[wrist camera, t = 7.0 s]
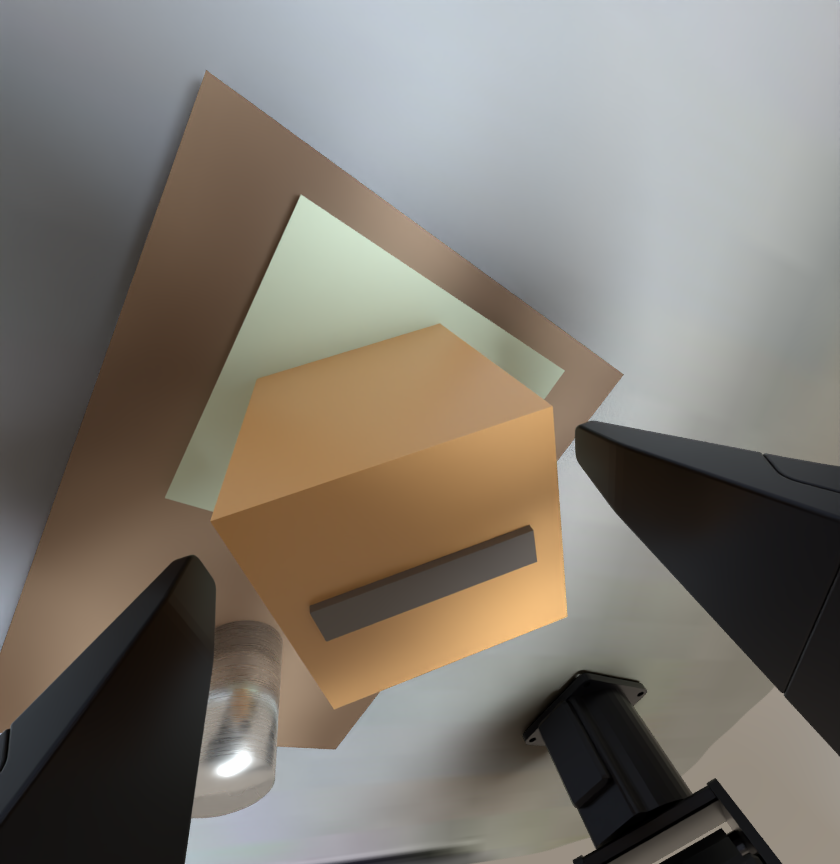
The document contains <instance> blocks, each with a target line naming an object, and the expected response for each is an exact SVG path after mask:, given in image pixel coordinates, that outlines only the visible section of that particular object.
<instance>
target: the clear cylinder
mask: <svg viewBox="0 0 840 864" xmlns="http://www.w3.org/2000/svg"><path fill="white" fill-rule="evenodd" d="M282 647H283V640H282V637H281V635H280V633H279V632H278V631H277V630H276V629H275V628H273V627H272V626H270V625H268V624H266V623H263V622H258V621H251V620H242V621H234V622H230V623H226V624H223V625H221V626H218V627H217V628H215V648H214V661H213V669H212V676H211V683H210V690H209V697H208V704H207V711H206V718H205V725H204V732H203V739H202V746H201V753H200V760H199V767H198V774H197V781H196V788H195V795H194V802H193V809H192V816H191V818H209V817H216V816H222V815H226V814H230V813H233V812H236V811H239V810H241V809H244V808H246V807H248V806H250V805H252V804H254V803H256V802H257V801H259V800H260V799H261V798H263V797H264V796H265V795H266V794H267V793H268V792H269V791H270V790H271V788H272V786H273V784H274V781H275V767H276V750H277V733H278V716H279V698H280V681H281V664H282Z"/></svg>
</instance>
